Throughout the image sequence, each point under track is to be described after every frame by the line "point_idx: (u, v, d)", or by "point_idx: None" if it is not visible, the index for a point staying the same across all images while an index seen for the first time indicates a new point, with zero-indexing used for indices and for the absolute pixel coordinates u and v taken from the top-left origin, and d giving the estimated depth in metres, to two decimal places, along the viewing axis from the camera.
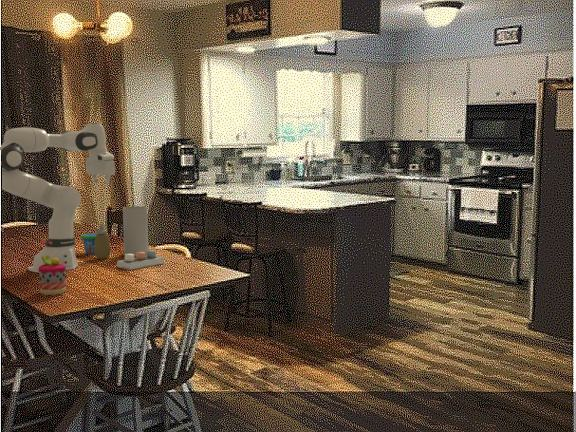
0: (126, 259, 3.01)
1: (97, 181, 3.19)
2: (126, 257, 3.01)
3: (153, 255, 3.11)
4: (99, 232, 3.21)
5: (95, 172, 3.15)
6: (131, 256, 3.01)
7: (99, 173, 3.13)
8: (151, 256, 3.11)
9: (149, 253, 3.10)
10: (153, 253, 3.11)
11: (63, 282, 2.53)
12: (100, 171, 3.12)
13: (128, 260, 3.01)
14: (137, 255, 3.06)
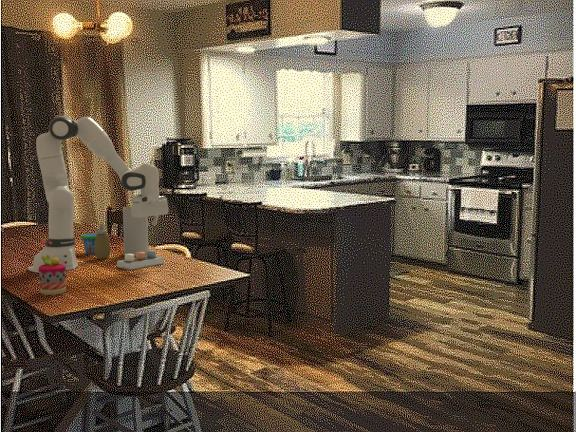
0: (126, 259, 3.01)
1: (153, 223, 3.12)
2: (126, 257, 3.01)
3: (153, 255, 3.11)
4: (99, 232, 3.21)
5: None
6: (131, 256, 3.01)
7: None
8: (151, 256, 3.11)
9: (149, 253, 3.10)
10: (153, 253, 3.11)
11: (63, 282, 2.53)
12: None
13: (128, 260, 3.01)
14: (137, 255, 3.06)
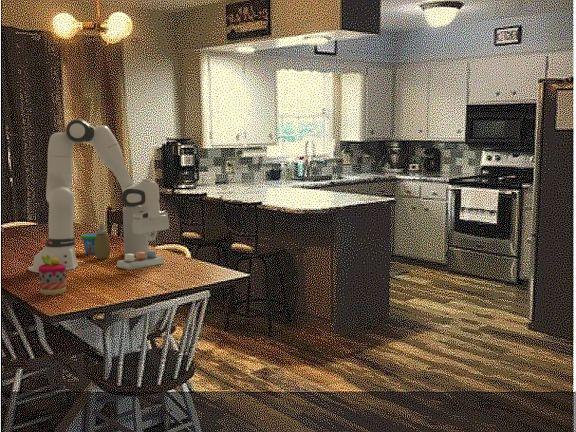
0: (126, 259, 3.01)
1: None
2: (126, 257, 3.01)
3: (153, 255, 3.11)
4: (99, 232, 3.21)
5: None
6: (131, 256, 3.01)
7: None
8: (151, 256, 3.11)
9: (149, 253, 3.10)
10: (153, 253, 3.11)
11: (63, 282, 2.53)
12: None
13: (128, 260, 3.01)
14: (137, 255, 3.06)
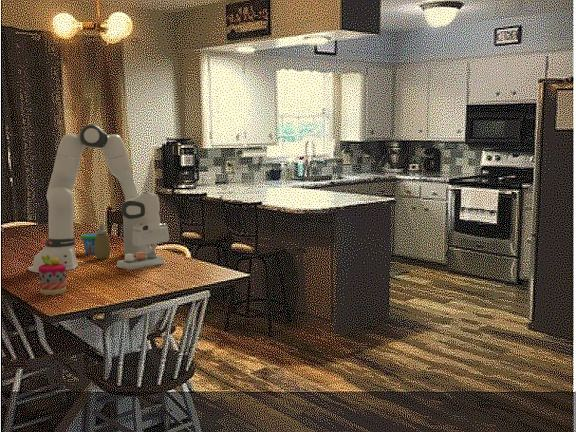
0: (126, 259, 3.01)
1: None
2: (126, 257, 3.01)
3: (153, 257, 3.11)
4: (99, 232, 3.21)
5: None
6: (131, 256, 3.01)
7: None
8: (151, 258, 3.11)
9: (149, 255, 3.11)
10: (153, 255, 3.11)
11: (63, 282, 2.53)
12: None
13: (128, 260, 3.01)
14: (137, 255, 3.06)
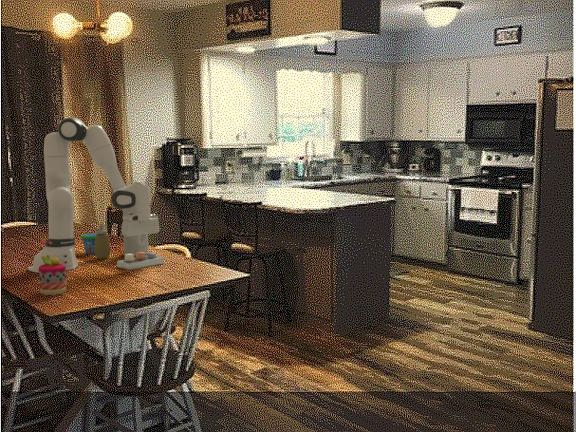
0: (126, 259, 3.01)
1: None
2: (126, 257, 3.01)
3: None
4: (99, 232, 3.21)
5: None
6: (131, 256, 3.01)
7: None
8: None
9: (149, 256, 3.11)
10: (153, 256, 3.11)
11: (63, 282, 2.53)
12: None
13: (128, 260, 3.01)
14: (137, 255, 3.06)
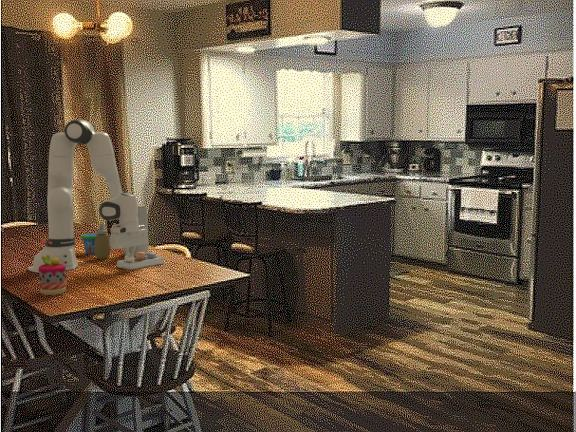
0: (126, 260, 3.01)
1: None
2: (126, 259, 3.01)
3: None
4: (99, 232, 3.21)
5: None
6: (131, 258, 3.01)
7: None
8: None
9: (149, 256, 3.11)
10: (153, 256, 3.11)
11: (63, 282, 2.53)
12: None
13: (128, 262, 3.01)
14: (137, 255, 3.06)
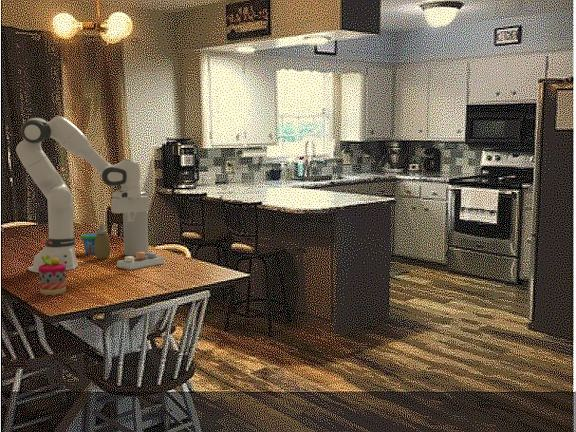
0: None
1: None
2: (126, 260, 3.01)
3: None
4: (99, 232, 3.21)
5: None
6: (131, 259, 3.01)
7: None
8: None
9: (149, 256, 3.11)
10: (153, 256, 3.11)
11: (63, 282, 2.53)
12: None
13: None
14: (137, 255, 3.06)
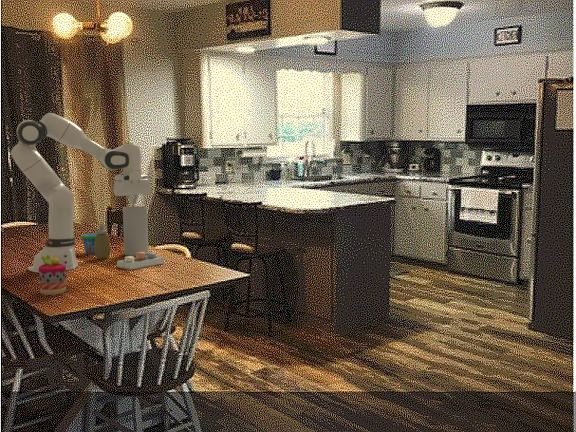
0: None
1: None
2: (126, 260, 3.01)
3: None
4: (99, 232, 3.21)
5: None
6: (131, 259, 3.01)
7: None
8: None
9: (149, 256, 3.11)
10: (153, 256, 3.11)
11: (63, 282, 2.53)
12: None
13: None
14: (137, 255, 3.06)
